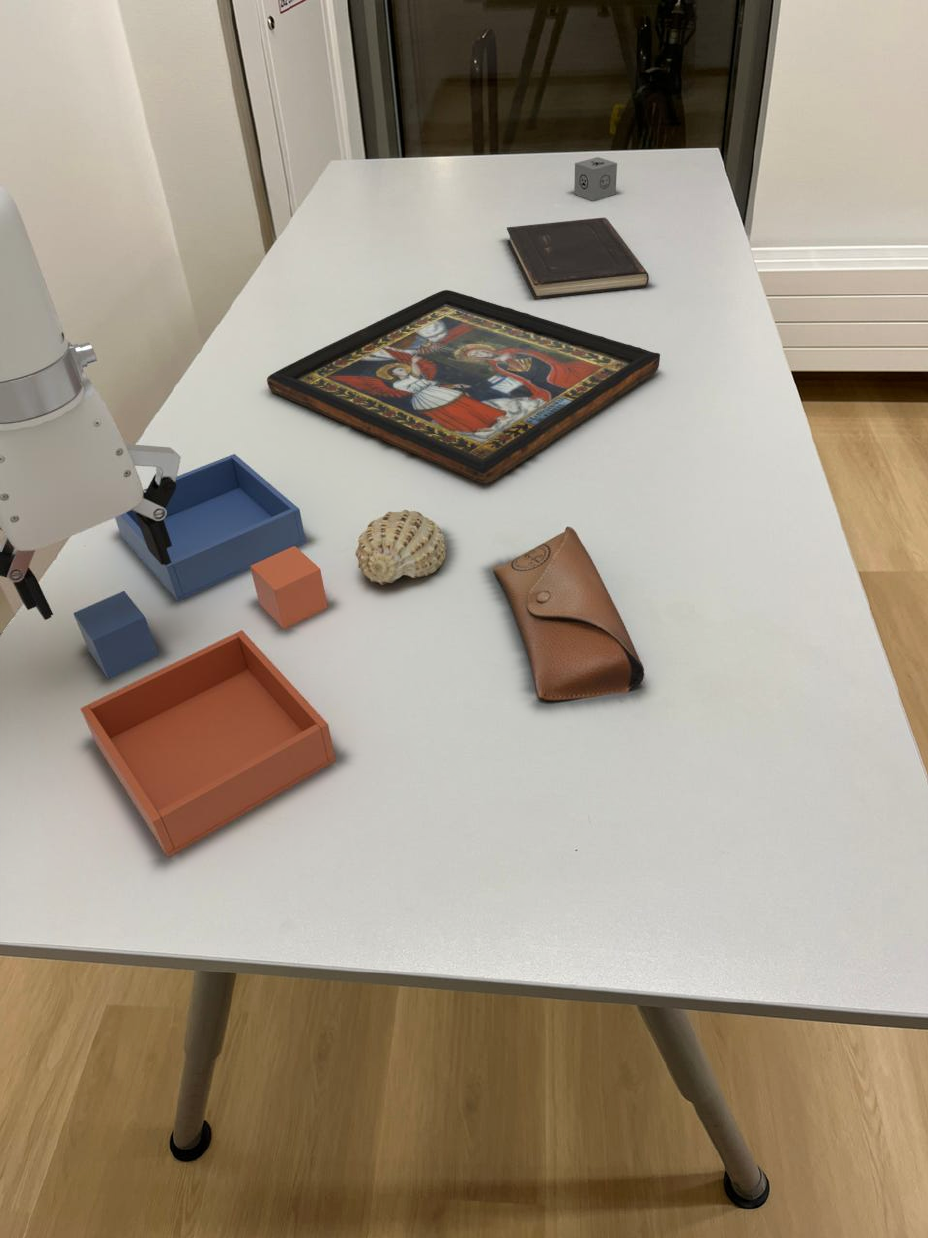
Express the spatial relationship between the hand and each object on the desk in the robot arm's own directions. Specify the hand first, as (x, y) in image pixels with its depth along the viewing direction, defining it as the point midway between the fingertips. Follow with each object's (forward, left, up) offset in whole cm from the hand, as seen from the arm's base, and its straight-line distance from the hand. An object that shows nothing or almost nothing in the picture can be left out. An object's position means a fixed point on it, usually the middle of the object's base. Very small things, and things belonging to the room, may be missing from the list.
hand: (103, 582), depth 75 cm
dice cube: (+109, +59, -8) cm, 124 cm away
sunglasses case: (+30, -21, -8) cm, 37 cm away
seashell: (+25, -5, -8) cm, 26 cm away
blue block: (0, 0, -8) cm, 8 cm away
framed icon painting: (+50, +19, -8) cm, 54 cm away
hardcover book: (+85, +38, -8) cm, 93 cm away
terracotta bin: (+1, -15, -8) cm, 17 cm away
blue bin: (+13, +10, -8) cm, 18 cm away
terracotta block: (+14, -4, -8) cm, 16 cm away
